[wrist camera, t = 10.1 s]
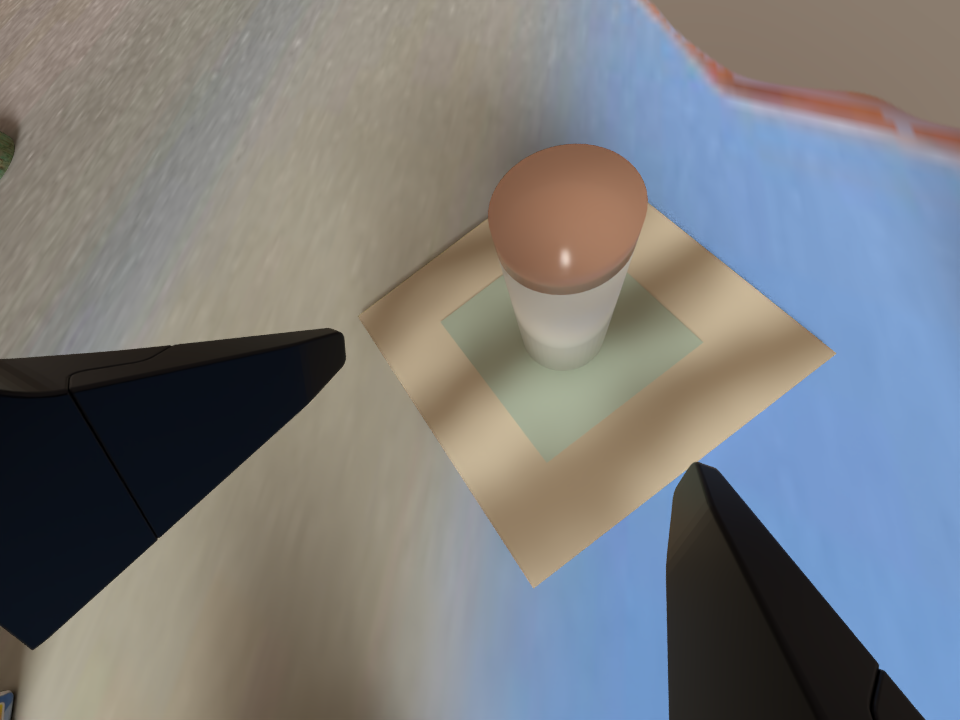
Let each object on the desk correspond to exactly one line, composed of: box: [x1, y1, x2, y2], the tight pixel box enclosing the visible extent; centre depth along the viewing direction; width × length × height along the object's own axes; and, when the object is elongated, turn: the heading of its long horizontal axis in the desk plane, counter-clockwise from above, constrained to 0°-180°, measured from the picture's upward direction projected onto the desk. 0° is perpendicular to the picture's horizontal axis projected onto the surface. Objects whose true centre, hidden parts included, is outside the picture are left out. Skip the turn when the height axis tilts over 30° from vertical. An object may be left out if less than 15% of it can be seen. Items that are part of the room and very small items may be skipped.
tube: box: [488, 144, 648, 371], centre depth 15 cm, size 4×4×10 cm
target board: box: [358, 203, 837, 588], centre depth 20 cm, size 18×18×1 cm
